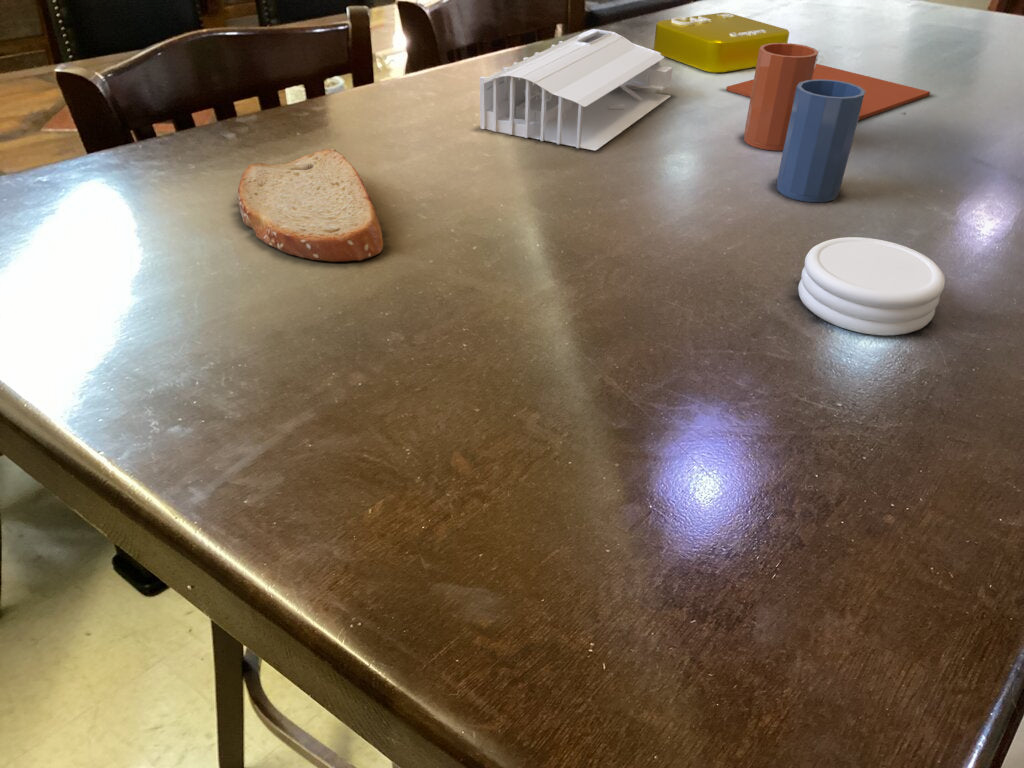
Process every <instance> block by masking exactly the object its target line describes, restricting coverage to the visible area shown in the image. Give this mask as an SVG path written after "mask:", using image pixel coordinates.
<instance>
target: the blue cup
mask: <svg viewBox="0 0 1024 768" xmlns="http://www.w3.org/2000/svg"><path fill="white" fill-rule="evenodd" d="M865 92H866V91H865V90H864V89H862V88H861V87H860V86H857V85H854V84H851V83H847V82H842V81H837V80H824V79H817V80H806V81H803V82H800V83H799V84H798V85H797V88H796V93H795V97H794V102H793V107H792V112H791V116H790V121H789V126H788V130H787V135H786V140H785V145H784V149H783V151H782V153H781V160H780V164H779V168H778V173H777V177H776V185H775V186H776V187H775V188H776V190H777V191H778V193H779V194H781V195H782V196H785V197H786V198H789V199H792V200H795V201H799V202H805V203H828V202H832V201H834V200H835V199H837V198H838V197H839V194H840V190H841V188H842V184H843V181H844V180H843V179H844V175H845V173H846V172H845V171H846V168H847V164H848V161H849V156H850V153H851V149H852V146H853V141H854V137H855V134H856V130H857V127H858V122H859V120H858V119H859V115H860V111H861V107H862V103H863V100H864V96H865Z"/></svg>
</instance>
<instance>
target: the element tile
mask: <svg viewBox="0 0 1024 768" xmlns="http://www.w3.org/2000/svg"><path fill="white" fill-rule="evenodd" d="M789 37H790V31H789V30H788V29H787V28H784V27H780V26H776V25H773V24H770V23H766V22H762V21H759V20H755V19H751V18H749V17H745V16H741V15H737V14H734V13H730V12H717V13H710V14H700V15H695V16H694V15H693V16H686V17H685V16H676V17H672V18H669V19H663V20H658V22H656V25H655V33H654V44H653V50H654V51H657V52H660V53H661V54H660V55H662V56H664V57H665V58H667V59H671V60H673V61H676V62H679V63H682V64H684V65H686V66H689V67H693V68H696V69H698V70H701V71H704V72H707V73H713V74H714V73H715V74H720V73H729V72H736V71H741V70H746V69H753V68H756V65H757V59H758V54H759V48H760V47H761V46H762V45H765V44H770V43H789Z"/></svg>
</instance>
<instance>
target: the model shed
mask: <svg viewBox="0 0 1024 768" xmlns="http://www.w3.org/2000/svg"><path fill="white" fill-rule="evenodd" d="M533 54H534V55H532V56H530V57H528V56H525V57H523V59H522V60H521V61H518V62H517V61H514V62H512V65H510V66H503V67H502V70H499V71H497V72H495V73H493V74H491V75H489V76H483V75H482V76H480V77H479V126H480V127H479V129H480V130H489V131H492V132H495V133H502V134H506V135H510V136H516V137H522V138H525V139H528V138H531V139H536V140H540V141H541V142H544V141H545V142H549V143H550V142H551V143H555V144H556V145H565V146H570V147H575V148H576V149H584V150H585V149H586V150H590V151H597V150H599V149H600V148H602V147H603V146H604V145H606V144H607V143H608V142H610V141H612V140H613V139H614V138H615V137H617V136H618V135H619V134H621V133H622V132H623V131H626V129H627V128H629V127H630V126H631V125H633V124H635V123H636V122H637V121H639V120H640V119H642V118H643V117H644V116H645V115H647V114H649V112H651V111H652V110H654V109H655V108H657V107H659V105H661V104H662V103H664V102H665V101H667V99H669V98H671V95H669V94H663V93H658V92H662V91H664V90H665V89H667V88H668V87H669V86H671V83H672V76H673V68H674V67H672V66H666V65H660V61H661V60H663V59H664V58H666V57H665V56H662V55H660V54H661V53H660V52H657V51H654V49H651V48H648V47H645V46H642V45H640V44H637V43H634V42H631V41H630V40H629V39H627V38H626V37H624V36H623V35H620V34H619V33H616V32H615V31H610V30H605V29H596V28H591V29H588V30H585V31H583V32H582V33H580V34H577V35H575V36H573V37H570V38H568V39H566V40H564V41H563V40H559V41H558V44H554V43H553V44H551V45H550V47H548V48H547V49H545V50H543V51H541V52H539V51H536V52H534V53H533ZM657 91H658V92H657Z"/></svg>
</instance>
